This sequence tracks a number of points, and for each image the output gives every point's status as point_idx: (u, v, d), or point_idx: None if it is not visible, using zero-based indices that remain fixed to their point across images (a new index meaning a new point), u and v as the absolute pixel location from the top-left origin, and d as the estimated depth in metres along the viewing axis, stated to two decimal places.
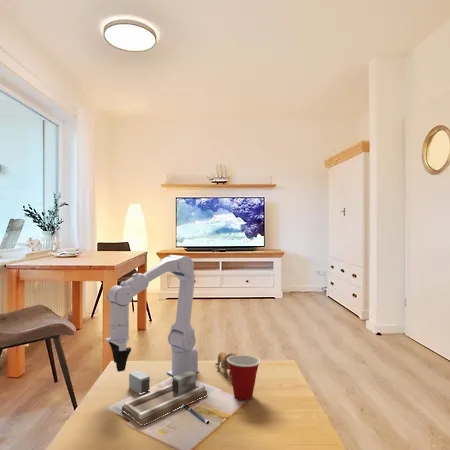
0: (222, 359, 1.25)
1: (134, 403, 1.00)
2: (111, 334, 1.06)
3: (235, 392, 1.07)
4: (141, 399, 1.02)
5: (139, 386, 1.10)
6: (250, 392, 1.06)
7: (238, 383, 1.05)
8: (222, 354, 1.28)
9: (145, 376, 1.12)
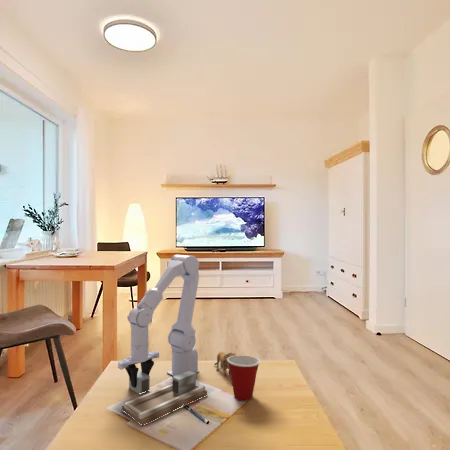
0: (221, 358, 1.26)
1: (134, 403, 1.00)
2: None
3: (235, 392, 1.07)
4: (141, 399, 1.02)
5: (139, 386, 1.10)
6: (250, 392, 1.06)
7: (238, 383, 1.05)
8: (221, 353, 1.28)
9: (145, 376, 1.12)
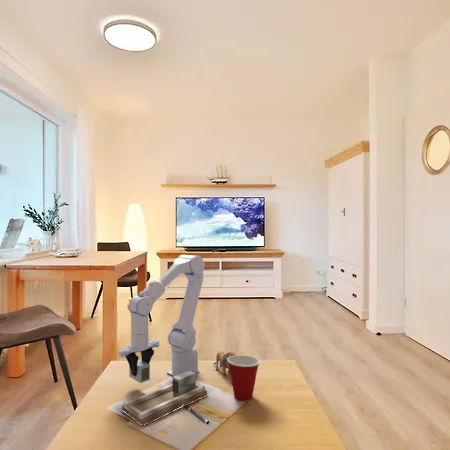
0: (221, 358, 1.26)
1: (134, 403, 1.00)
2: None
3: (235, 392, 1.07)
4: (141, 399, 1.02)
5: (139, 374, 1.10)
6: (250, 392, 1.06)
7: (238, 383, 1.05)
8: (221, 353, 1.29)
9: (145, 364, 1.12)
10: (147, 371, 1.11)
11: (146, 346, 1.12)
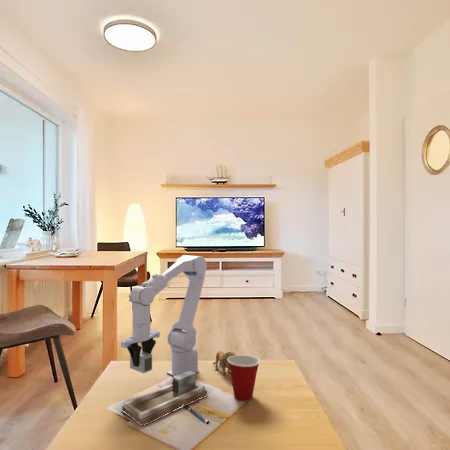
0: (220, 358, 1.27)
1: (134, 403, 1.00)
2: None
3: (235, 392, 1.07)
4: (141, 399, 1.02)
5: (142, 364, 1.09)
6: (250, 392, 1.06)
7: (238, 383, 1.05)
8: (220, 353, 1.29)
9: (147, 354, 1.11)
10: (150, 361, 1.10)
11: (148, 336, 1.11)
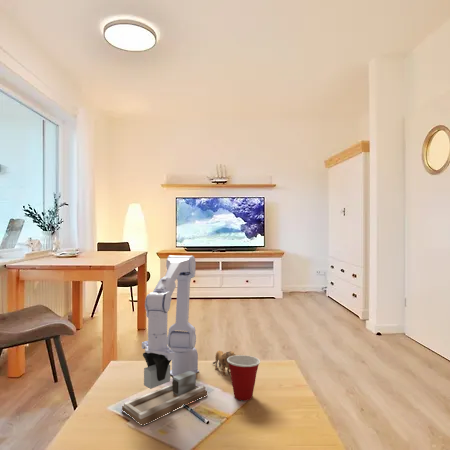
0: (220, 357, 1.27)
1: (134, 403, 1.00)
2: (152, 344, 0.99)
3: (235, 392, 1.07)
4: (141, 399, 1.02)
5: (168, 373, 1.03)
6: (250, 392, 1.06)
7: (238, 383, 1.05)
8: (220, 352, 1.30)
9: None
10: None
11: None
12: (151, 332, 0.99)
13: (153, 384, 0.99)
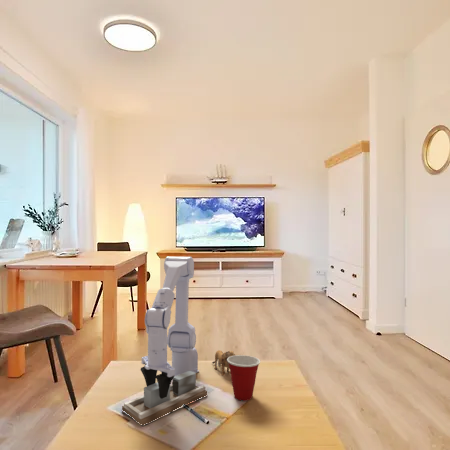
0: (219, 357, 1.27)
1: (134, 403, 1.00)
2: (152, 360, 0.99)
3: (235, 392, 1.07)
4: (141, 399, 1.02)
5: (168, 392, 1.02)
6: (250, 392, 1.06)
7: (238, 383, 1.05)
8: (219, 352, 1.30)
9: None
10: None
11: None
12: (151, 348, 0.99)
13: (153, 404, 0.98)
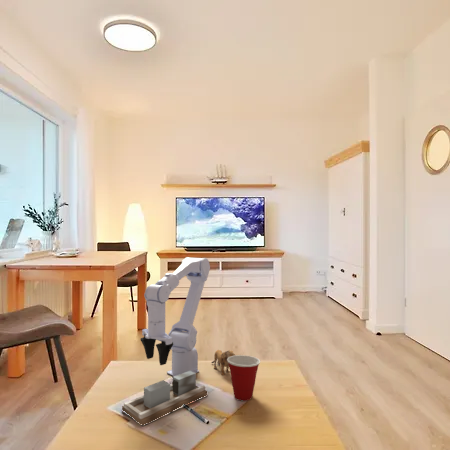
0: (219, 357, 1.28)
1: (134, 403, 1.00)
2: (152, 331, 1.11)
3: (235, 392, 1.07)
4: (141, 399, 1.02)
5: (168, 392, 1.02)
6: (250, 392, 1.06)
7: (238, 383, 1.05)
8: (219, 352, 1.30)
9: (163, 382, 1.04)
10: None
11: None
12: (149, 319, 1.12)
13: (153, 404, 0.98)
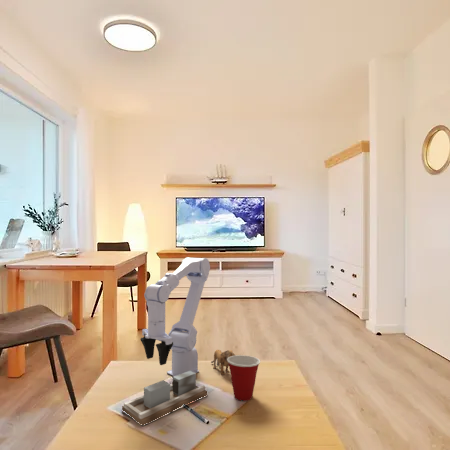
0: (218, 356, 1.28)
1: (134, 403, 1.00)
2: (152, 331, 1.11)
3: (235, 392, 1.07)
4: (141, 399, 1.02)
5: (168, 392, 1.02)
6: (250, 392, 1.06)
7: (238, 383, 1.05)
8: (218, 351, 1.31)
9: (163, 382, 1.04)
10: None
11: None
12: (149, 319, 1.12)
13: (153, 404, 0.98)
